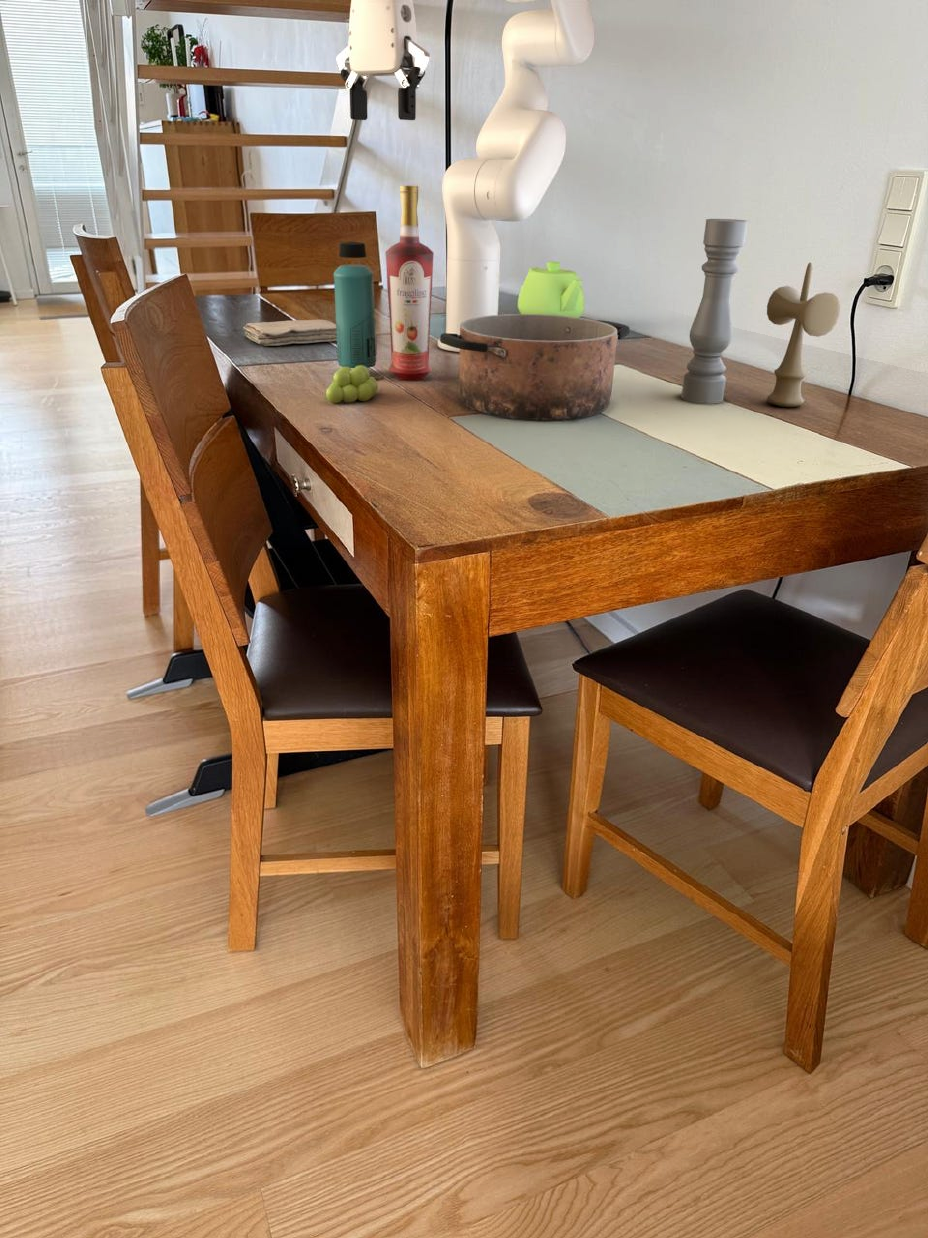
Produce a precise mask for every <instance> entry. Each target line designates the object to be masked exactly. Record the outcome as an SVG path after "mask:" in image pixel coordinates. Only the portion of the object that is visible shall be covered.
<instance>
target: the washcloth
mask: <svg viewBox="0 0 928 1238" xmlns="http://www.w3.org/2000/svg"><path fill="white" fill-rule="evenodd" d="M243 329H244V331H245V332H244V333H245V334H244V335H245V337H246V338H248V339H249V340H251V341H253V342H255V343H257V344H258V345H262V346H263V347H264V346H265V347H269V346H273V347H276V346H283V345H284V346H286V345H291V344H293V345H295V344H313V343H314V344H315V343H325V342H337V336H336V335H335V334H336V323H333V322H332V321H330V320H326V319H294V320H290V319H289V320H281V321H269V322H268V321H262V322H261V321H260V322H249V323H246V324H245V325H244V326H243Z"/></svg>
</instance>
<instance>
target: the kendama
mask: <svg viewBox="0 0 928 1238" xmlns="http://www.w3.org/2000/svg"><path fill="white" fill-rule="evenodd" d="M812 271H813V263H812V262H808V263H807V267H806V269H805V273H804V278H803V282H802V286H801V287H802V288H801V292H800V291H799V290H798V289H796V288H795V287H794V286H790V285H785V286H779V287H778V288H776V289H775V290H773V291H772V293H771V294H770V297H769V298H768V301H767V304H766V315H767V320H769V322H771V323H772V324H773V325H777V326H782V325H787V324H789V323H791V322H792V321H794V323H793V327H792V331H791V334H790V338H789V341H788V344H787V347H786V349H785V353H784V356H783V359H782V361H781V363H780V365H779V366H778V368H776V369H775V370H774V371H773V373H774V376H775V384H774V389H773V391H772V392H770V394H768V396H767V398H766V399H767V401H768V403H770V404H771V405H774V406H777V407H785V408H795V407H800V406H802V405H803V404H804V403H805V399H804V398H803V397H802V390H801V389H802V382H803V381H804V379H805V378H806V377H807V373H806V372H805V370H804V367H803V343H804V341H803V340H804V332H805V333H806V334H808V335H809V336H811V337H816V338H819V337H823V336H826V335H828V334H829V333H830V332H831V331H833V329H834V328H835V327H836V325H837V323H838V320H839V317H840V314H841V303H840V299H839V297H838V296H837V295H835V294H834V293H832V292H829V291H824V292H820V293H816V294H814V295H813V296H811V298H809V292H810V285H811V280H812ZM808 298H809V299H808Z"/></svg>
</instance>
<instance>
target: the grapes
mask: <svg viewBox="0 0 928 1238" xmlns="http://www.w3.org/2000/svg"><path fill="white" fill-rule="evenodd" d="M383 380H385V376H384V375H378V376H375V377H373V376H371V373H370V370H369V368H366V367H365V366H362V365H359V366H356V367H355V368H349V367H346V366H344V367H341V366H340V368H338V370H336V371H335V372H334V374H333V378H332V381H333V382H331V383H330V385H329V386H328V387H327V388H326V391H325V397H326V399H327V401H329V402H330V403H331V404H339V403H340V402H342V401H343V402H345V403H354V402H355V401H357V400H358V401H360V402H367V401H369V400H371V398H373V397H374V396H375V395H376V393H377V391H378V387H379V384H378V382H379V381H383Z"/></svg>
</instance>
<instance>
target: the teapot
mask: <svg viewBox="0 0 928 1238" xmlns="http://www.w3.org/2000/svg"><path fill="white" fill-rule="evenodd" d="M560 266H561V262H559V261H547V262H546V267H547V268H540V267H538V266H537V267H529V268H528V273H527V275H526V277H525V279H524V282H523V283H522V286H521V287H520V290H519V295H518V299H517V309H518V311H519V314H541V315H558V316H569V317H577V318H582V315H583V314H584V311H585V307H586V306H585V295H584V291H583V287H582V285H583V279H582V280H581V279H579V277H578V273H576V271H573V270H569V269H564V268H563V269H562V268H560Z"/></svg>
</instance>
